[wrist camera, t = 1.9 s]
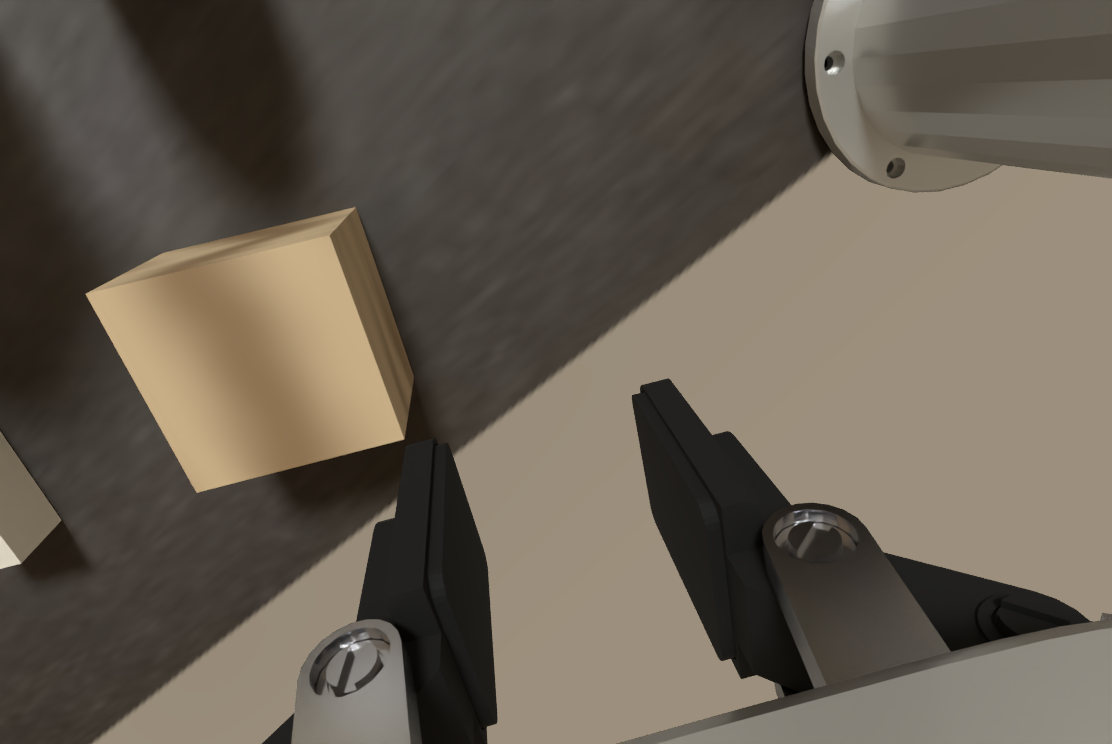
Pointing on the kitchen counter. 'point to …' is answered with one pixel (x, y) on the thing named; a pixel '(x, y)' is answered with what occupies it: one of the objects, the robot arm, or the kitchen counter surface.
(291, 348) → the block
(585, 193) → the kitchen counter surface
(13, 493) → the batten
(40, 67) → the kitchen counter surface
